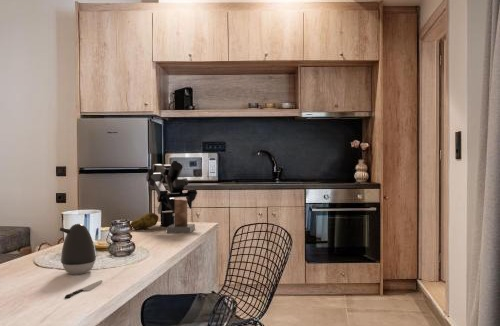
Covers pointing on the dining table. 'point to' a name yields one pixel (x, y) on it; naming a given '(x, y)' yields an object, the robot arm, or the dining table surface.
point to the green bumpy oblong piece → (145, 221)
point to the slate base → (180, 228)
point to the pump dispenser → (77, 250)
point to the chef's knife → (85, 288)
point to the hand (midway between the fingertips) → (181, 208)
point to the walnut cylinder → (180, 212)
